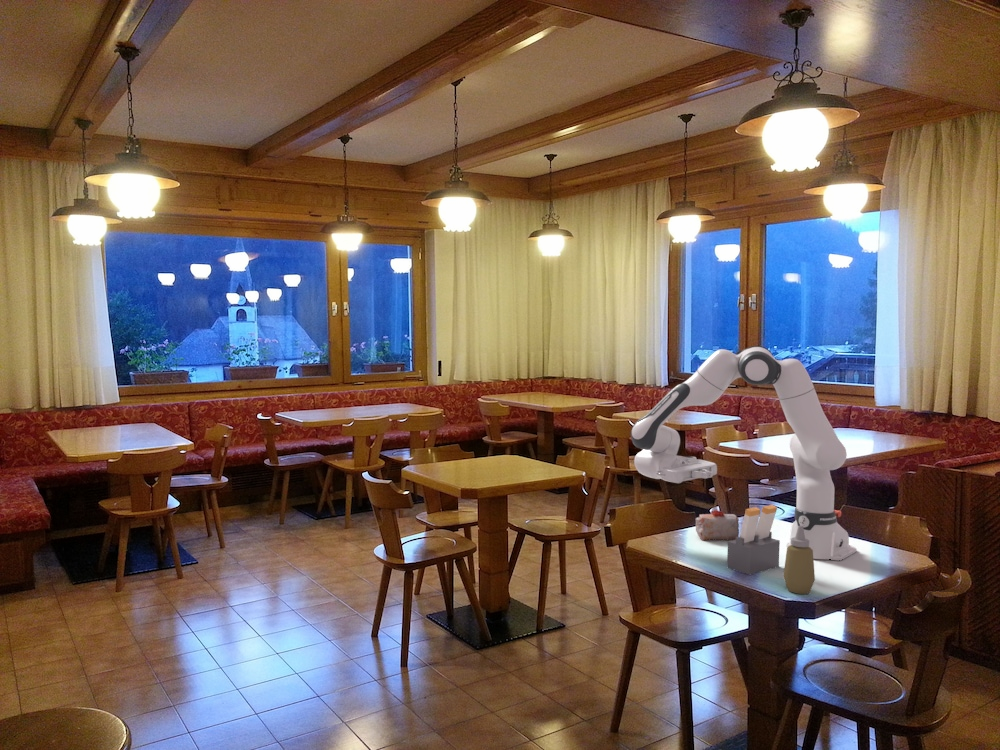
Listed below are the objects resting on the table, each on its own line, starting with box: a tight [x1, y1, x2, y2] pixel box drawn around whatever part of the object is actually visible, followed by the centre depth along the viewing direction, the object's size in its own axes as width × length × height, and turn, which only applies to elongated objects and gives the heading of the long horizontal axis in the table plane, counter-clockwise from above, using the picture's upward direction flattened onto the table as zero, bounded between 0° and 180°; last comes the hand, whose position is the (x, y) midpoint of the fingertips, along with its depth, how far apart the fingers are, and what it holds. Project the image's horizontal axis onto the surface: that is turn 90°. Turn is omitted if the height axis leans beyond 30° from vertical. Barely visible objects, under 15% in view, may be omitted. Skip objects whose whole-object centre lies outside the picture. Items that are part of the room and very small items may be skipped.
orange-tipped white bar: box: [755, 504, 778, 539], centre depth 230 cm, size 5×2×10 cm, turn 125°
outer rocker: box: [739, 506, 762, 543], centre depth 226 cm, size 5×2×10 cm, turn 125°
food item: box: [695, 508, 740, 542], centre depth 260 cm, size 14×8×10 cm, turn 89°
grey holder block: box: [726, 531, 781, 576], centre depth 229 cm, size 14×8×10 cm, turn 125°
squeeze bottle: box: [782, 526, 816, 595], centre depth 209 cm, size 8×8×18 cm
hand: (709, 475), depth 238 cm, fingers closed
